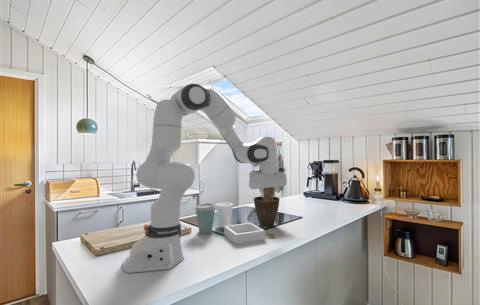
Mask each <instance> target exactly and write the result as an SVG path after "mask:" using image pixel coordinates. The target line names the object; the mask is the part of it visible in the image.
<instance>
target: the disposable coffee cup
mask: <svg viewBox="0 0 480 305" xmlns="http://www.w3.org/2000/svg"><path fill="white" fill-rule="evenodd" d="M194 210H195V214H196V219H197V220H196V221H197V226H198V232H199V233H200V234H201V235H209V234H211V233H213V228H214V220H215V210H216V205H215V203H210V202H209V203H208V202H207V203H201V204H198V205H196V206H195V209H194Z"/></svg>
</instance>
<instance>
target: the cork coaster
mask: <svg viewBox="0 0 480 305" xmlns="http://www.w3.org/2000/svg"><path fill="white" fill-rule="evenodd" d="M265 239H267V240H269V239H271V240H273V239H274V240H275V239H279V235H278V234H276V233H270V232H269V233H265Z"/></svg>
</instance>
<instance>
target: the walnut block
mask: <svg viewBox="0 0 480 305" xmlns="http://www.w3.org/2000/svg"><path fill="white" fill-rule="evenodd" d="M263 192H264V193H265V194H266V195H265V196H266V197H263V201H265V202H272V201H274V197H275V196H274V189H273V187H271V188H264V190H263Z"/></svg>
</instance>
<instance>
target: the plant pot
mask: <svg viewBox="0 0 480 305" xmlns="http://www.w3.org/2000/svg"><path fill="white" fill-rule="evenodd" d="M280 201H281V200H280V197H277V196H274V201H272V202H265V201H263V197H261V195H260V196H255V197H253V202H254V208H255V214H256V217H257V220H258V223H259V225H260V226H261V227H264V228H265V227H266V228H273V227H274V225H275V223H276V218H277V215H278V212H279V205H280Z"/></svg>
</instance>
